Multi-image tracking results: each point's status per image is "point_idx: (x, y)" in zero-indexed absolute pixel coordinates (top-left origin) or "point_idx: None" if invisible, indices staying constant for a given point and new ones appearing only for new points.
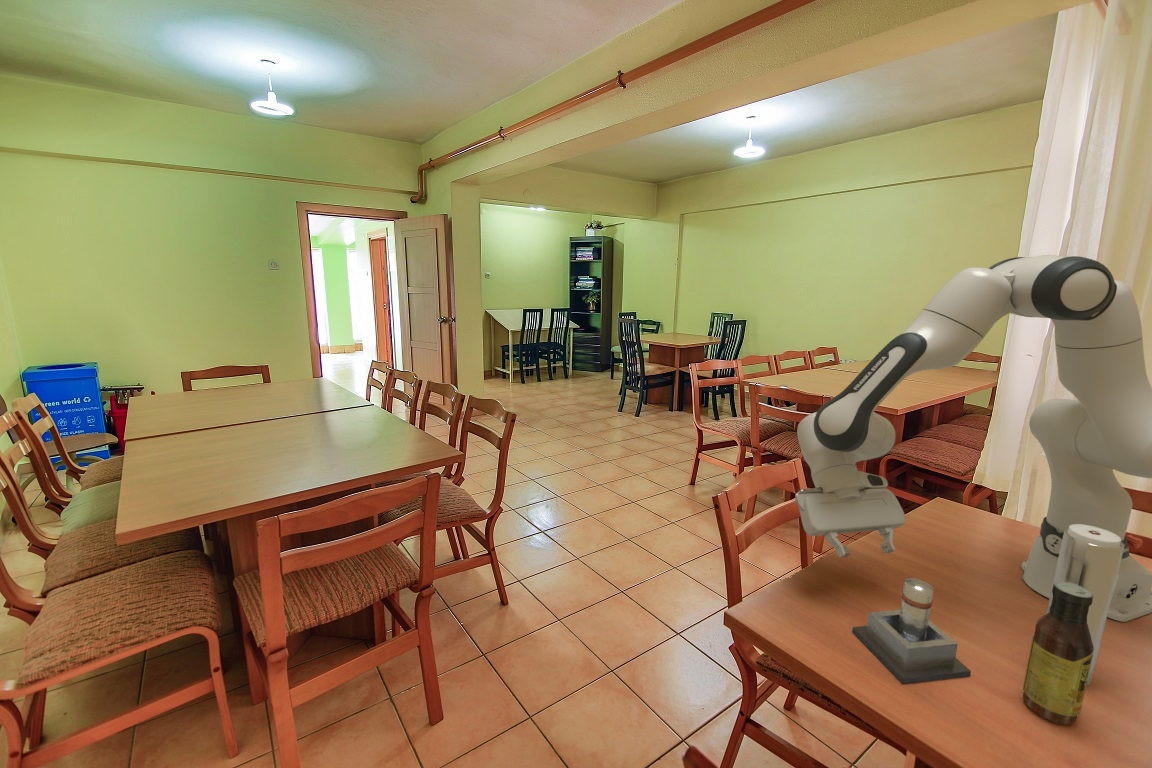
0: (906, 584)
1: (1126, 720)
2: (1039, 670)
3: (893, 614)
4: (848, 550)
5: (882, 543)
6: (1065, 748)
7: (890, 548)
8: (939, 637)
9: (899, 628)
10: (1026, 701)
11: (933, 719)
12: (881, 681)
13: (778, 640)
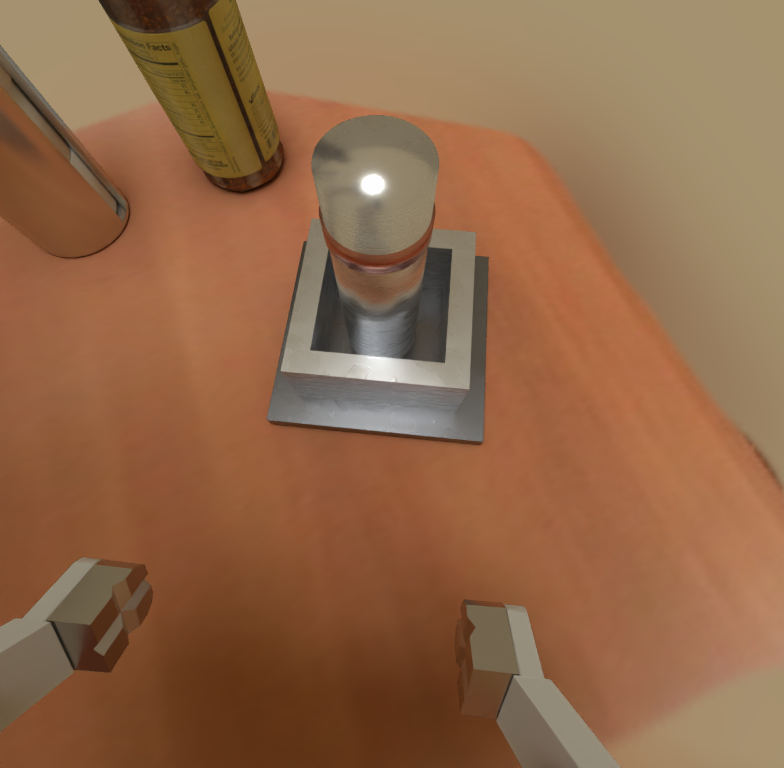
0: (433, 178)
1: (135, 123)
2: (251, 63)
3: (389, 360)
4: (474, 623)
5: (99, 650)
6: (314, 112)
7: (108, 570)
8: (329, 259)
9: (417, 314)
10: (275, 167)
11: (493, 191)
12: (529, 283)
13: (737, 467)
